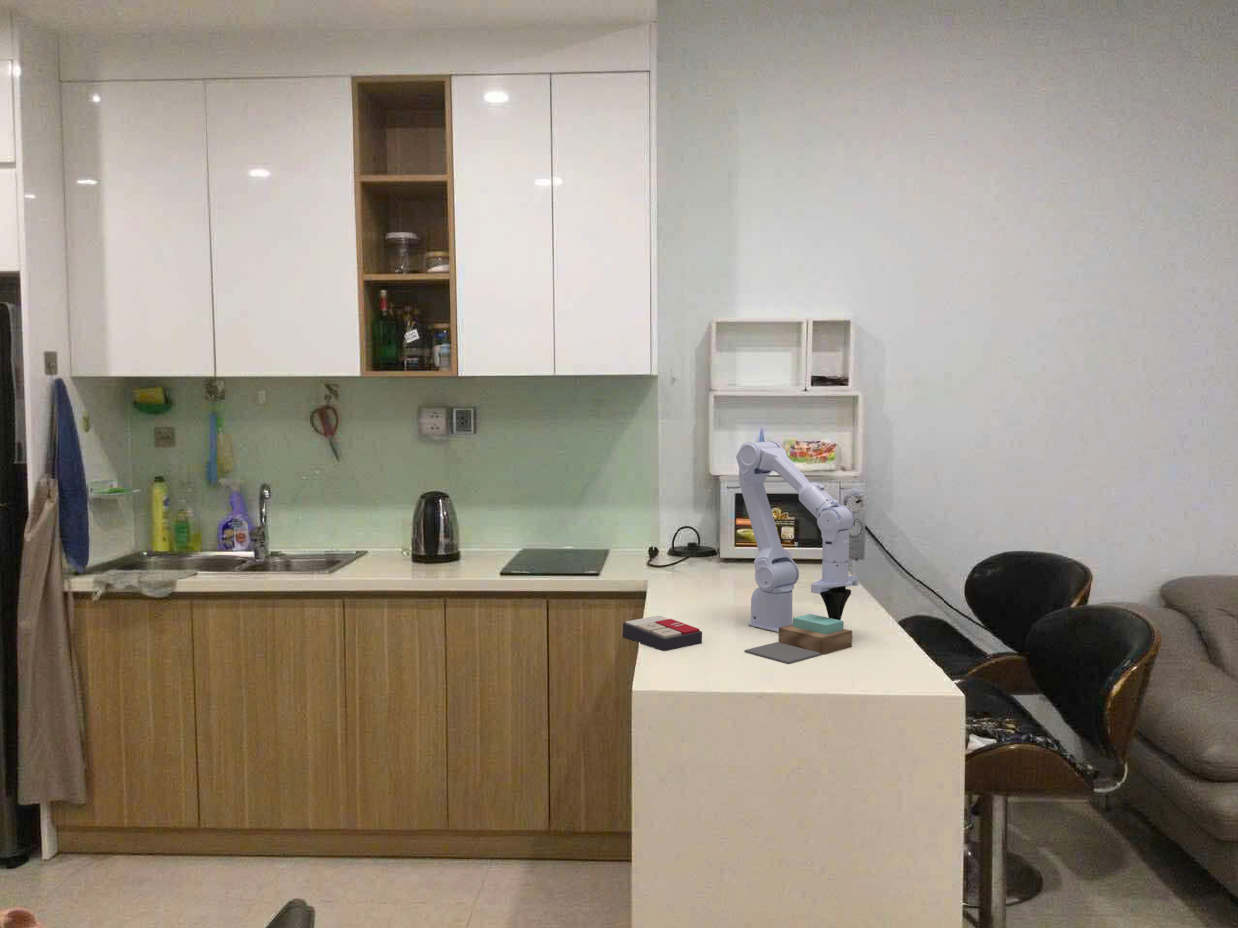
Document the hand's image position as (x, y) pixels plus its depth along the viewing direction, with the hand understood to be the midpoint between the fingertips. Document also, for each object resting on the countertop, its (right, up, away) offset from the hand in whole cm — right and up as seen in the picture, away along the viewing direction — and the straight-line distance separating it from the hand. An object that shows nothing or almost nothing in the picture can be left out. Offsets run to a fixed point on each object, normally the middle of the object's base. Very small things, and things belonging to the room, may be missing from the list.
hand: (834, 621), depth 204 cm
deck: (-5, -5, -4) cm, 8 cm away
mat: (-14, -5, -11) cm, 18 cm away
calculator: (-38, -5, +1) cm, 39 cm away
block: (-5, 0, -4) cm, 6 cm away
